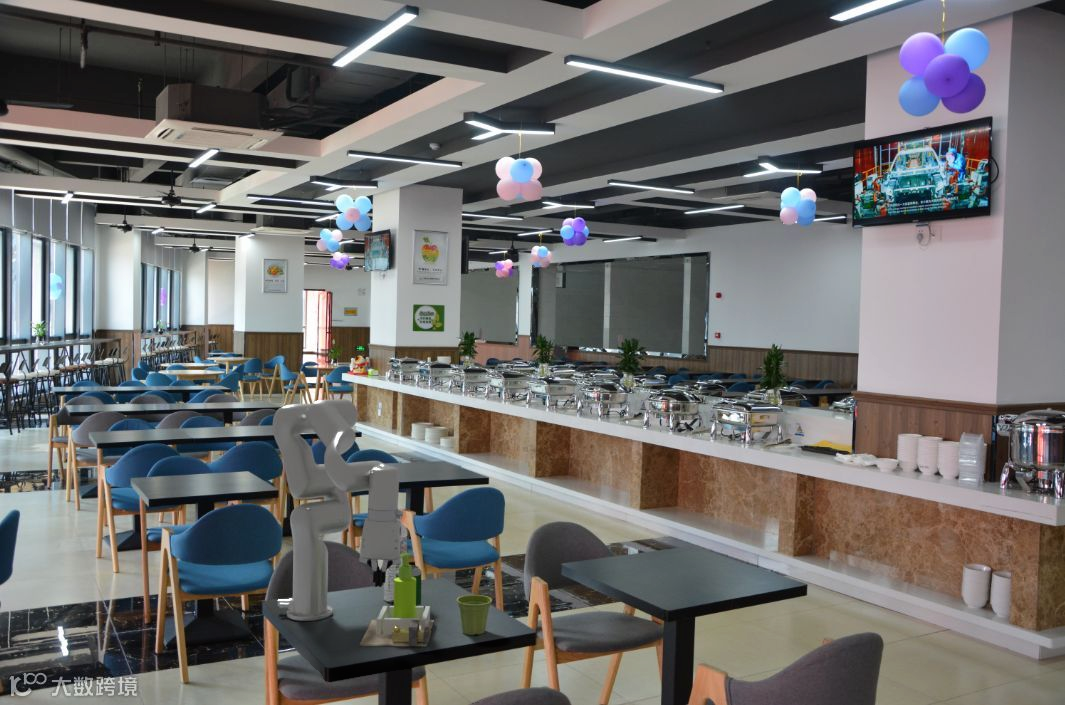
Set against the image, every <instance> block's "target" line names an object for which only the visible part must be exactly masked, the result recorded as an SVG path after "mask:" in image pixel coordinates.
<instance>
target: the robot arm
mask: <svg viewBox="0 0 1065 705" xmlns="http://www.w3.org/2000/svg"><path fill="white" fill-rule="evenodd" d="M358 413H359V412H358V409H357V407H356V405H355V404H354V403H353V402H352V401H351V400H349V399H347V398H344V399H343V398H342V399H338V398H337V399H320V400H316V401H313V402H312V403H295V404H286V405H284V406H282V407H280V408H278V409H277V410H276V412H275V413H274V416H273V419H272V433H273V437H274V440H275V442H276V445H277V446H278V449H279V452H280V454H281V457H282V461H283V466H284V472H285V476H286V480H287V485H288V489H289V493H290V495H291V496H292V498H294V499H296V500H310V499H316V498H317V499H319V498H324V499H323V500H319V501H312V502H306V503H301V504H300V505H297V506H296V507H295V508H294V509H293V510H292V511H291V514H290V516H289V520H290V521H289V522H290V523H289V524H290V530H291V535H292V536H291V537H292V545H293V546H292V549H293V550H292V551H293V552H292V553H293V555H292V556H293V557H292V558H293V559H292V560H293V561H292V563H293V564H292V567H293V568H292V570H293V572H292V597H291V598H289V599H284V598H283V599H282V598H281V599H278V600H277V607H279V609H288V610H287V611H286V617H287V618H288V619H291V620H294V621H299V622H300V621H301V622H303V621H306V622H310V621H318V620H323V619H326V618H328V617H331V615H333V611H334V609H333V607H332V606H330V605H328V587H329V586H328V585H329V584H328V583H329V582H328V581H329V576H328V575H329V567H328V566H329V551H328V548H327V545H326V544H325V542H324V541H323V540H322V536H325V535H332V534H337V533H342V532H344V531H346V530H347V529H348V528H350V526H351V523H352V510H351V505H350V500H349V495H348V493H354V492H355V493H356V492H363V491H368V501H367V502H368V504H367V517H365V518H364V522H363V525H362V526H363V527H362V533H361V538H360V539H361V541H360V551H359V558H358V561H359V562H360V563H363V564H367V566H369V567H370V569H371V570H372V575H373V576H372V583H374V587H375V588H377V587H379V588H382V586H384V583H385V579H386V570H387V569H388V568H389V567H390V566H391V565H395V564H400V563H401V556H400V554H401V546H402V536H401V523H402V522H401V519H400V517H404V510H400V509H399V507H398V505H399V491H400V490H399V488H400V471H399V469H398V468H397V467H396V466H392V465H386V463H384V462H383V461H382V462H381V461H379V460H367V461H356V462H346V460H345V459H344V458H343V456H342V455H343V454H344V453H346V452H348V450H350V449H351V448H352V447H353V445H354V443H355V441H356V437H357V436H356V432H355V431H354V429H353V427H354V426H355V425H356V424H357V423H358V418H359V414H358ZM311 433H312V434H313V433H315V434H316V435H317V437H318V438H319V440H320V442H322V444H323V445H324V447H325V451H324V454H323V455H324V456H323V458H324V459H323V461H324V462H323V464H322V463H321V464H319V463H316V461H315V457H314V453H313V449H312V447H311V446H310V444H309V443H308V441H307V440H306V439H304V437H302V436H301V434H311ZM398 517H399V519H397V518H398ZM380 560H382V565H381V566H379V561H380ZM380 567H381V568H380Z"/></svg>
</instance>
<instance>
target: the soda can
mask: <svg viewBox="0 0 1065 705" xmlns="http://www.w3.org/2000/svg"><path fill="white" fill-rule="evenodd" d="M410 565H411V564H410ZM411 566H412V577H414V578H416V606H422V575H423V574H422V572H423V571H422V570H421V568H419V566H417V565H411ZM397 577H399V568H398V569H397V570H396V576H395V578H397Z"/></svg>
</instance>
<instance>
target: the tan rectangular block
mask: <svg viewBox="0 0 1065 705" xmlns="http://www.w3.org/2000/svg"><path fill="white" fill-rule="evenodd" d="M423 632H424V630H417V642H423ZM392 642H409V629H400V626H394V627H393V632H392Z"/></svg>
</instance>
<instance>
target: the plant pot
mask: <svg viewBox="0 0 1065 705" xmlns="http://www.w3.org/2000/svg"><path fill="white" fill-rule="evenodd" d="M456 602H457V603H458V607H459V612H460V621H461V630H462V633H463V634H465V635H469V636H475V635H483V634H484V633H486V630H487V628H486V627H487V623H488V622H487V621H488V616H489V610H490V607H491V603H492V602H493V598H492V597H489V596H487V595H482V594H480V595H479V594H468V595H467V594H466V595H461V596H459V597H457V598H456Z"/></svg>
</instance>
